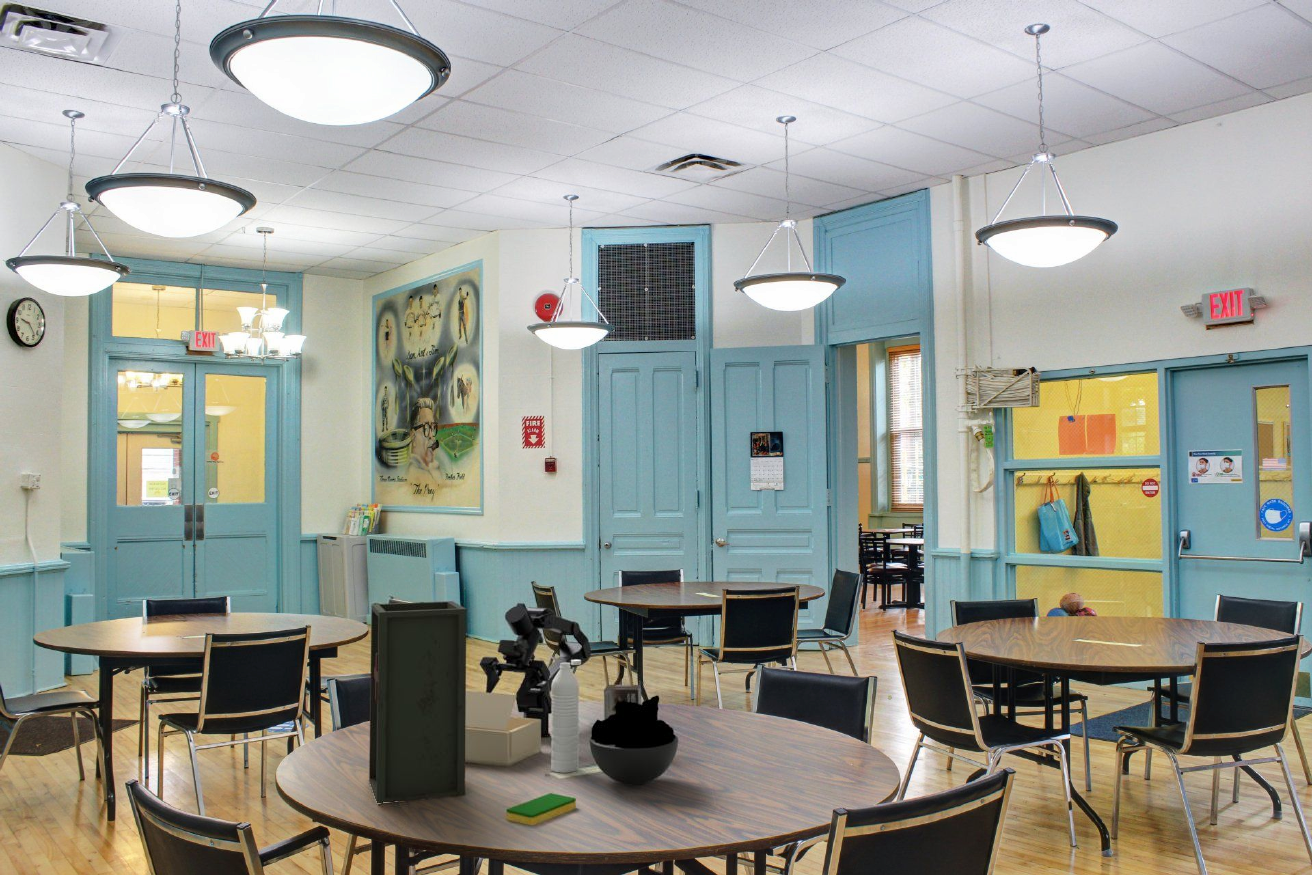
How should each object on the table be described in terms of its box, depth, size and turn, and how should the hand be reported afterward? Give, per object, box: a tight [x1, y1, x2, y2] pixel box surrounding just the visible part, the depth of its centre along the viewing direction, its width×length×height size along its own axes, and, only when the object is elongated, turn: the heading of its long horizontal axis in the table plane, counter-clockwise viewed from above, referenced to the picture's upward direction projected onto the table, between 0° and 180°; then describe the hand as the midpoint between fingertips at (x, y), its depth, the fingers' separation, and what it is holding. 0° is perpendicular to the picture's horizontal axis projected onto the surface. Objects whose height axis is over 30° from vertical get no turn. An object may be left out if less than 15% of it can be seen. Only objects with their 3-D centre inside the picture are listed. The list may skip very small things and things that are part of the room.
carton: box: [465, 716, 542, 768], centre depth 255 cm, size 16×21×8 cm
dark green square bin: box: [368, 600, 467, 804], centre depth 226 cm, size 18×18×40 cm
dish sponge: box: [506, 792, 577, 826], centre depth 207 cm, size 7×14×2 cm, turn 145°
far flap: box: [465, 690, 517, 731], centre depth 250 cm, size 9×19×1 cm
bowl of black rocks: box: [589, 694, 679, 786], centre depth 229 cm, size 20×20×19 cm
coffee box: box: [603, 684, 642, 720], centre depth 259 cm, size 9×6×16 cm
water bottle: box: [550, 660, 581, 774], centre depth 242 cm, size 9×6×25 cm
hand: (502, 695), depth 260 cm, fingers open, 9 cm apart
